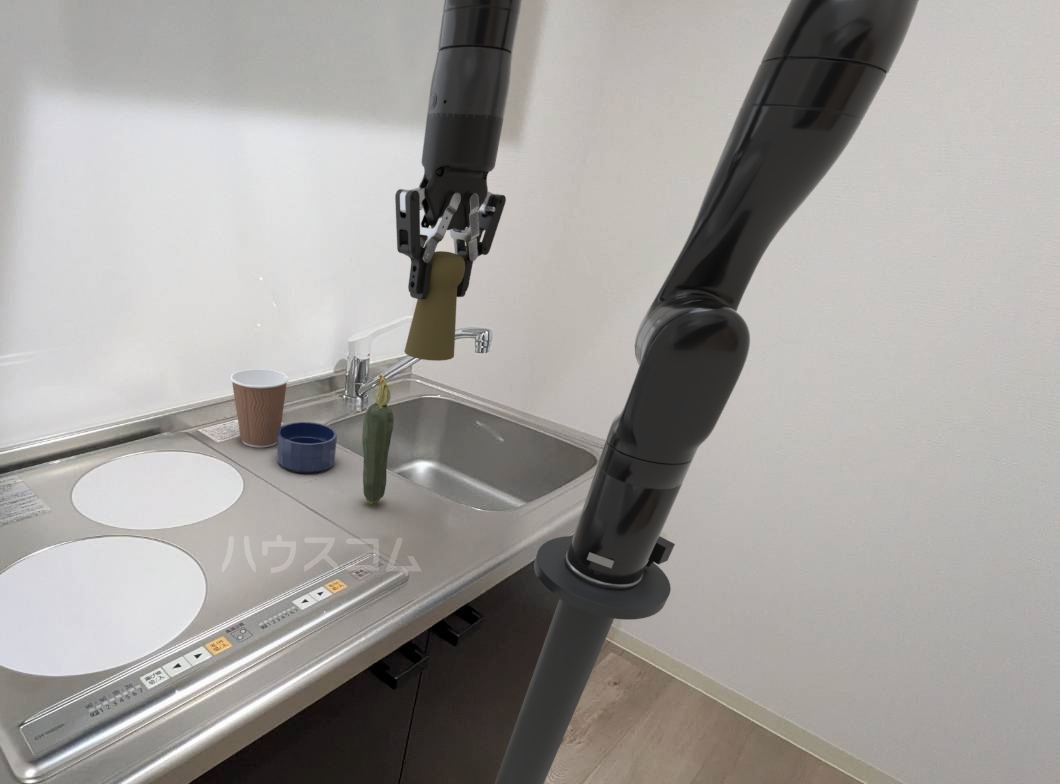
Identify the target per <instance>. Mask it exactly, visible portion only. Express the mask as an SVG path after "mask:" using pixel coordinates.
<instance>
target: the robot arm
mask: <svg viewBox="0 0 1060 784" xmlns="http://www.w3.org/2000/svg"><path fill="white" fill-rule="evenodd" d="M919 1H920V0H790V1H789V3H788V4H787V7H786V9H785V11H784V13H783V15H782V17H781V20H780V22H779V24H778V26H777V27H776V30H775V32H774V34H773V36H772V38H771V40H770V42H769V44H768V46H767V48H766V51H765V53H764V54H763V56H762V58H761V61H760V64H759V66H758V68H757V69H756V72H755V74H754V77H753V79H752V81H751V83H750V85H749V88H748V89H747V92H746V95H745V96H744V99H743V101H742V103H741V106H740V107H739V109H738V110H739V111H738V113H737V116H736V118H735V120H734V123H733V125H732V127H731V130H730V132H729V135H728V137H727V139H726V142H725V145H724V147H723V149H722V152H721V154H720V157H719V158H718V161H717V163H716V166H715V168H714V171H713V174H712V175H711V178H710V181H709V183H708V186H707V188H706V191H705V194H704V196H703V199H702V202H701V204H700V207H699V210H698V212H697V214H696V218H695V220H694V222H693V225H692V227H691V230H690V231H689V234H688V236H687V238H686V241H685V243H684V244H683V246H682V248H681V251H680V252H679V254H678V256H677V258H676V259H675V262H674V263H673V265H672V267H671V268H670V270H669V272H668V274H667V276H666V278H665V280H664V281H663V283H662V285H661V287H660V288H659V290H658V292H657V293H656V295H655V297H654V299H653V301H652V303H651V305H650V306H649V308H648V309H647V311H646V313H645V315H644V317H643V319H642V321H641V322H640V324H639V327H638V329H637V331H636V335H635V338H634V339H635V340H634V356H635V359H636V362H637V364H638V368H637V372H636V374H635V377H634V380H633V382H632V386H631V388H630V391H629V394H628V396H627V399H626V401H625V404H624V406H623V408H622V410H621V412H620V413H619V414H617V415H616V416H615V417H614V418H613V420H612V422H611V425H610V428H609V430H608V433H607V436H606V439H605V442H604V446H603V448H602V452H601V455H600V457H599V459H598V463H597V466H596V469H595V472H594V475H593V478H592V480H591V483H590V487H589V490H588V493H587V496H586V499H585V501H584V504H583V507H582V510H581V512H580V515H579V518H578V522H577V524H576V527H575V530H574V532H573V535H572V536H573V538H572V541H571V544H570V547H569V550H568V551H567V553H566V556H565V565H566V567H567V569H568V570H569V571H570V572H571V573H572V574H573V575H574V576H576V577H577V578H579V579H580V580H582V581H584V582H586V583H588V584H591V585H593V586H596V587H599V588H603V589H608V590H629V589H632V588H635V587H636V586H638V585H639V583H640V581H641V579H642V576H643V572H644V570H645V567H646V566H647V567H650V565H651V564H652V563H655V564H656V565H657V566H659V565H661V564H663V563H665V562H668V561H669V558H670V556H671V554H672V552H673V550H674V547H675V545H676V543H674V542H672V541H670V540H668V539H666V538H664V537H662V536H661V533H662V531H663V529H664V528H665V524H666V522H667V520H668V518H669V515H670V514H671V511H672V509H673V506H674V505H675V502H676V499H677V497H678V495H679V493H680V490H681V488H682V486H683V483H684V481H685V479H686V476H687V474H688V472H689V469H690V467H691V465H692V463H693V460H694V458H695V456H696V454H697V451H698V449H699V448H700V446H701V445H702V444H704V442H706V441H707V439H708V438H709V437H710V436H711V434H712V433H713V431H714V430H715V428H716V425H717V424H718V421H719V420H720V418H721V415H722V413H723V411H724V409H725V407H726V406H727V403H728V402H729V399H730V398H731V396H732V394H733V391H734V389H735V387H736V385H737V383H738V381H739V378H740V376H741V375H742V372H743V369H744V367H745V365H746V361H747V358H748V355H749V351H750V346H751V334H750V333H751V332H750V329H749V326H748V324H747V321H745V319H744V318H743V316H742V315H740V313H738V312H737V311H738V309H739V307H740V303H741V301H742V299H743V296H744V295H745V292H746V291H747V289H748V286H749V284H750V281H751V280H752V278H753V275H754V273H755V271H756V269H757V267H758V266H759V263H761V260H762V257H763V256H764V254H765V253H766V251H767V250H768V248H769V246H770V245H771V243H772V242H773V240H775V238H776V237H777V235H778V234H779V232H780V231H781V230H782V229H783V227H784V226H785V225H786V224H787V222H788V221H789V220H790V219H791V217H792V216H793V215H794V214H795V213H796V212H797V210H798V209H799V208H800V207H801V206H802V204H803V203H804V202H805V201H806V200H807V199H808V197H809V196H810V195H811V194H812V193H813V191H814V190H815V189H816V188H817V186H818V185H820V183H821V182H822V180H823V179H824V178H825V177H826V175H827V174H828V173H829V171H830V170H831V169H832V167H833V166H834V165H835V163H836V162H837V160H838V159H839V158H840V157H841V155H842V154H843V152H844V150H846V148H847V146H848V145H849V143H850V142H851V140H852V139H853V137H854V135H855V134H856V132H857V131H858V129H859V127H860V125H861V123H862V121H863V120H864V118H865V116H866V114H868V111H869V109H870V108H871V105H872V103H873V102H874V100H875V98H876V96H877V94H878V93H879V91H880V89H881V87H882V85H883V84H884V81H885V80H886V79H887V75H888V73H890V71H891V68H892V66H893V65H894V62H895V60H896V58H897V56H898V54H899V52H900V51H901V48H902V46H903V44H904V41H905V39H906V37H907V35H908V32H909V29H910V27H911V23H912V21H913V19H914V16H915V13H916V10H917V8H918V4H919ZM522 3H523V0H443V6H442V15H441V22H440V30H439V38H438V45H437V53H436V58H435V64H434V68H433V73H432V77H431V82H430V90H429V97H428V104H427V105H428V106H427V114H426V121H425V130H424V137H423V146H422V152H421V153H422V155H421V166H422V167H423V169H424V171H423V176H422V179H421V181H420V183H419V186H418V187H415V188H412V189H403V188H399V189H398V190H396V192H395V195H394V197H395V198H394V200H395V201H394V203H395V226H396V227H395V228H396V249H397V252H398V253H399V254H402V255H404V256H406V257H408V258H409V259H410V268H409V269H410V270H409V278H408V285H407V288H408V289H407V290H408V292H409V295H410V297H411V298H413V299H419V300H420V299H426V298H427V293H428V286H429V279H430V273H431V266H432V263H428V262H430V261H431V259H432V256H433V254H434V252H436V249H437V247H438V244H439V243H440V242H441V241H443V240H444V237H445V235H446V233H447V231H449V234H450V238H451V239H452V241H453V248H454V253H455V254H457V255H460V256H461V257H462V258H463V259H464V262H465V273H464V277H463V279H462V281H461V282H460V284H459V285H458V286H457V298H463V297H465V296H466V293H467V291H468V289H469V286H470V280H471V277H472V276H471V275H472V269H473V264H474V262H475V261H476V260H477V259H478V257H480V256H482V255H483V256H486V255H488V254H489V253H490V251H491V248H492V246H493V242H494V240H495V239H494V238H495V235H496V233H497V230H498V227H499V223H500V220H501V218H502V214H503V212H504V209H505V205H506V201H507V198H506V196H505V194H498V193H492V192H490V191H488V190H489V189H488V175H489V173H490V172H493V170H494V169H495V167H496V162H497V157H498V151H499V147H500V142H501V141H500V139H501V134H502V129H503V124H504V120H505V119H504V118H505V113H506V107H507V103H508V96H509V91H510V84H511V72H512V62H513V53H514V48H515V42H516V36H517V31H518V25H519V20H520V16H521V9H522ZM421 211H422V212H421ZM483 232H484V233H483ZM482 235H483V237H482ZM481 239H482V240H481Z"/></svg>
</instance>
